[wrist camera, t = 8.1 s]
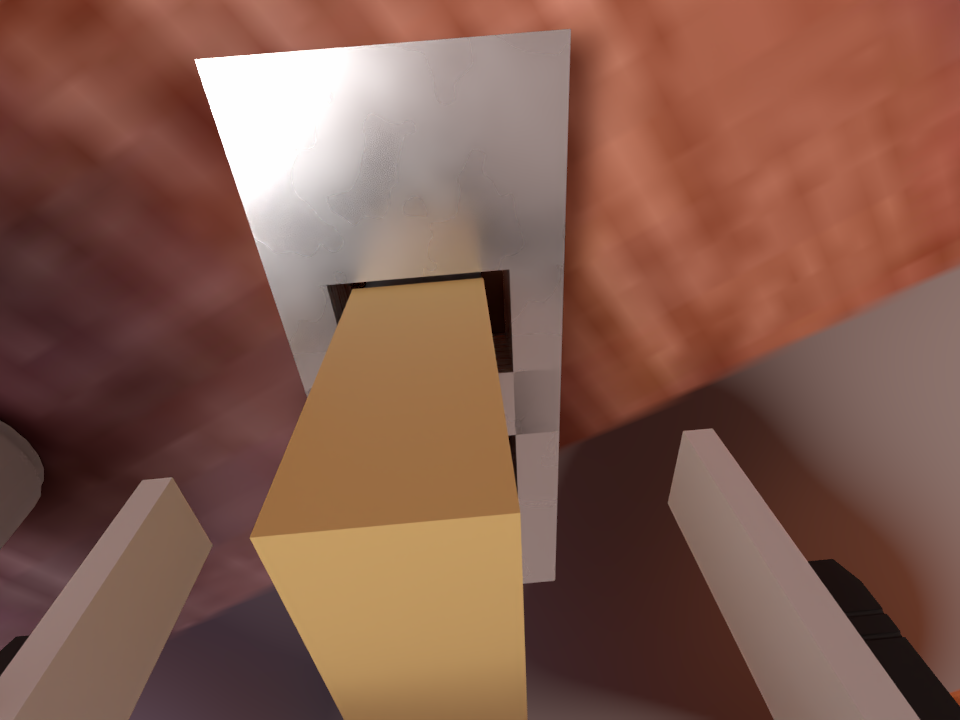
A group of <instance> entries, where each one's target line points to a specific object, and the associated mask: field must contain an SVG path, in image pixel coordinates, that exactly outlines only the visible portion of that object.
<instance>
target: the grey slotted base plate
mask: <svg viewBox="0 0 960 720" xmlns="http://www.w3.org/2000/svg"><path fill="white" fill-rule="evenodd" d="M570 42H571V29H564V30H552V31H540V32H527V33H515V34H503V35H490V36H478V37H466V38H454V39H441V40H429V41H417V42H404V43H392V44H380V45H367V46H355V47H343V48H331V49H318V50H306V51H294V52H281V53H269V54H257V55H244V56H232V57H220V58H208V59H195V62H196V65H197V68H198V71H199V74H200V77H201V80H202V83H203V86H204V89H205V92H206V95H207V98H208V101H209V104H210V107H211V110H212V113H213V116H214V119H215V122H216V125H217V128H218V131H219V134H220V137H221V140H222V143H223V146H224V149H225V152H226V155H227V158H228V161H229V164H230V167H231V170H232V173H233V176H234V179H235V182H236V185H237V188H238V191H239V194H240V197H241V200H242V203H243V206H244V209H245V212H246V215H247V218H248V221H249V224H250V227H251V230H252V233H253V236H254V239H255V242H256V245H257V248H258V251H259V254H260V257H261V260H262V263H263V266H264V269H265V272H266V275H267V278H268V281H269V284H270V287H271V290H272V293H273V296H274V299H275V302H276V305H277V308H278V311H279V314H280V317H281V320H282V323H283V326H284V329H285V332H286V335H287V338H288V341H289V344H290V347H291V350H292V353H293V356H294V359H295V362H296V365H297V368H298V371H299V374H300V377H301V380H302V383H303V386H304V389H305V392H306V395H307V398H308V395H309V393H310V390H311V388H312V386H313V383H314V381H315V378H316V376H317V374H318V371H319V369H320V366H321V364H322V361H323V359H324V357H325V354H326V352H327V349H328V347H329V345H330V342H331V340H332V337H333V335H334V332H335V330H336V328H337V325H338V323H339V320H340V318H341V316H342V313H343V311H344V308H345V306H346V303H347V301H348V299H349V296H350V294H351V291H352V287H351V283H357V282H369V281H380V280H392V279H403V278H415V277H426V276H438V275H449V274H461V273H473V272H484V271H496V270H502V273H503V295H504V317H505V333H498V334H492V337H493V343H494V349H495V355H496V362H497V368H498V374H499V381H500V387H501V393H502V400H503V406H504V412H505V419H506V425H507V431H508V436H509V435H510V448H511V457H512V463H513V469H514V476H515V482H516V488H517V494H518V501H519V507H520V515H521V545H522V574H523V584H524V583H535V582H546V581H555V563H556V562H555V561H556V528H557V495H558V494H557V493H558V460H559V425H560V391H561V356H562V321H563V286H564V251H565V216H566V181H567V146H568V112H569V77H570Z"/></svg>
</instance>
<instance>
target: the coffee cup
mask: <svg viewBox="0 0 960 720" xmlns="http://www.w3.org/2000/svg"><path fill="white" fill-rule="evenodd" d="M43 481H44V468H43V465H42V463H41V460H40V458H39V455H38V454H37V453H36V451H35V450H34V449H33V447H32V446H31V445H30V444H29V442H28V441H27V440H26V439H25V438H23V437H22V436H21V435H20V434H19V433H17V432H16V431H15V430H14V429H13V428H12V427H10V426H9V425H7V424H5V423H4V422H2V421H0V549H1V548H2V547H3V545H4V544H5V543H6V542H7V540H8V539H9V538H10V537H11V535H12V534H13V533H14V532H15V531H16V529H17V528H18V527H19V526H20V524H21V523H22V522H23V521H24V519H25V518H26V517H27V516H28V514H29V513H30V512H31V511H32V509H33V508H34V507H35V505H36V503H37V502H38V500H39V498H40V496H41V485H42V483H43Z"/></svg>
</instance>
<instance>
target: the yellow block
mask: <svg viewBox="0 0 960 720" xmlns="http://www.w3.org/2000/svg"><path fill="white" fill-rule="evenodd" d="M250 540H251V541H252V543H253V545H254V547H255V549H256V551H257V553H258V555H259V557H260V559H261V561H262V563H263V565H264V567H265V568H266V570H267V572H268V574H269V576H270V578H271V580H272V582H273V584H274V586H275V588H276V590H277V592H278V593H279V595H280V597H281V599H282V601H283V603H284V605H285V607H286V609H287V611H288V613H289V615H290V617H291V618H292V620H293V622H294V624H295V626H296V628H297V630H298V632H299V634H300V636H301V638H302V640H303V641H304V643H305V645H306V647H307V649H308V651H309V653H310V655H311V657H312V659H313V661H314V663H315V665H316V667H317V668H318V670H319V672H320V674H321V676H322V678H323V680H324V682H325V684H326V686H327V688H328V690H329V692H330V694H331V696H332V697H333V699H334V701H335V703H336V705H337V707H338V708H339V711H340V713H341V715H342V717H343V719H344V720H527V694H526V693H527V692H526V664H525V634H524V604H523V574H522V545H521V515H520V507H519V501H518V494H517V488H516V482H515V476H514V469H513V463H512V457H511V450H510V444H509V438H508V431H507V425H506V419H505V412H504V406H503V400H502V393H501V387H500V381H499V374H498V368H497V362H496V355H495V349H494V343H493V337H492V330H491V324H490V318H489V311H488V305H487V299H486V292H485V286H484V280H483V278H482V277H481V272H473V273H461V274H449V275H438V276H426V277H415V278H403V279H392V280H380V281H369V282H367V283H366V285H365V288H359V289H352V291H351V294H350V296H349V299H348V301H347V303H346V306H345V308H344V311H343V313H342V316H341V318H340V320H339V323H338V325H337V328H336V330H335V332H334V335H333V337H332V340H331V342H330V345H329V347H328V349H327V352H326V354H325V357H324V359H323V361H322V364H321V366H320V369H319V371H318V374H317V376H316V378H315V381H314V383H313V386H312V388H311V390H310V393H309V395H308V398H307V400H306V403H305V405H304V407H303V410H302V412H301V415H300V417H299V419H298V422H297V424H296V427H295V429H294V432H293V434H292V436H291V439H290V441H289V444H288V446H287V448H286V451H285V453H284V456H283V458H282V461H281V463H280V465H279V468H278V470H277V473H276V475H275V477H274V480H273V482H272V485H271V487H270V490H269V492H268V494H267V497H266V499H265V502H264V504H263V506H262V509H261V511H260V514H259V516H258V519H257V521H256V523H255V526H254V528H253V531H252V533H251V535H250Z"/></svg>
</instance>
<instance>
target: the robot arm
mask: <svg viewBox="0 0 960 720" xmlns="http://www.w3.org/2000/svg"><path fill="white" fill-rule="evenodd" d="M668 505H669V507H670V509H671V511H672V513H673V515H674V517H675V519H676V521H677V523H678V525H679V527H680V529H681V531H682V534H683V535H684V537H685V540H686V542H687V544H688V546H689V548H690V550H691V552H692V554H693V556H694V558H695V560H696V562H697V564H698V566H699V568H700V570H701V572H702V574H703V576H704V578H705V580H706V582H707V584H708V586H709V588H710V590H711V592H712V594H713V597H714V598H715V601H716V603H717V605H718V607H719V609H720V611H721V613H722V615H723V617H724V619H725V621H726V623H727V625H728V627H729V629H730V631H731V633H732V635H733V637H734V639H735V641H736V643H737V645H738V647H739V649H740V651H741V653H742V655H743V657H744V659H745V662H746V663H747V666H748V668H749V670H750V671H751V674H752V676H753V678H754V680H755V682H756V684H757V686H758V688H759V690H760V692H761V694H762V696H763V698H764V700H765V702H766V704H767V706H768V708H769V710H770V712H771V714H772V716H773V718H774V720H960V706H959V705H958V704H957V702H956V701H955V700H954V699H953V697H952V696H951V695H950V694H949V692H948V691H947V690H946V688H945V687H944V686H943V685H942V683H941V682H940V681H939V680H938V678H937V677H936V676H935V675H934V674H933V672H932V671H931V669H930V668H929V667H928V666H927V665H926V663H925V662H924V661H923V659H922V658H921V657H920V655H919V654H918V653H917V652H916V651H915V649H914V648H913V647H912V645H911V644H910V643H909V642H908V640H907V639H906V638H905V637H902V636H901V634H900V630H899V629H898V628H897V626H896V625H895V624H894V623H893V621H892V620H891V619H890V617H889V616H888V615H887V614H884V613H883V611H882V607H881V606H880V605H879V604H878V602H877V601H876V600H875V598H874V597H873V596H872V595H871V593H870V592H869V591H868V590H867V588H866V587H865V586H864V585H863V583H862V582H861V581H860V580H859V579H857V578H856V577H855V576H854V575H852V574H851V573H850V572H849V571H847V570H846V569H845V568H843V567H842V566H841V565H840V564H839V563H837V562H836V561H835V560H833V559H828V560H818V561H807V560H806V559H805V557H804V556H803V555H802V553H801V552H800V550H799V549H798V548H797V546H796V545H795V543H794V542H793V541H792V539H791V538H790V536H789V535H788V534H787V532H786V531H785V529H784V528H783V527H782V525H781V524H780V522H779V521H778V519H777V518H776V517H775V515H774V514H773V513H772V511H771V510H770V508H769V507H768V505H767V504H766V503H765V501H764V500H763V498H762V497H761V496H760V494H759V493H758V491H757V490H756V489H755V487H754V486H753V484H752V483H751V482H750V480H749V479H748V477H747V476H746V475H745V473H744V472H743V470H742V469H741V468H740V466H739V465H738V463H737V462H736V461H735V459H734V458H733V456H732V455H731V454H730V452H729V451H728V449H727V448H726V447H725V445H724V444H723V442H722V441H721V440H720V438H719V437H718V435H717V434H716V432H715V431H714V430H713V429H700V430H689V431H683V434H682V439H681V443H680V448H679V453H678V457H677V462H676V467H675V472H674V476H673V481H672V486H671V490H670V495H669V500H668ZM212 546H213V545H212V543H211V541H210V540H209V538H208V536H207V535H206V533H205V531H204V530H203V528H202V526H201V525H200V523H199V521H198V519H197V518H196V516H195V514H194V513H193V511H192V509H191V508H190V506H189V504H188V503H187V501H186V499H185V498H184V496H183V494H182V492H181V491H180V489H179V487H178V486H177V484H176V482H175V481H174V479H173V477H170V478H159V479H148V480H142V481H141V483H140V484H139V485H138V487H137V488H136V489H135V491H134V492H133V494H132V495H131V496H130V498H129V499H128V501H127V502H126V503H125V505H124V506H123V507H122V509H121V510H120V512H119V513H118V514H117V516H116V517H115V518H114V520H113V521H112V523H111V524H110V525H109V527H108V528H107V530H106V531H105V532H104V534H103V535H102V536H101V538H100V539H99V541H98V542H97V543H96V545H95V546H94V548H93V549H92V550H91V552H90V553H89V554H88V556H87V557H86V559H85V560H84V561H83V563H82V564H81V565H80V567H79V568H78V570H77V571H76V572H75V574H74V575H73V577H72V578H71V579H70V581H69V582H68V583H67V585H66V586H65V588H64V589H63V590H62V592H61V593H60V594H59V596H58V597H57V599H56V600H55V601H54V603H53V604H52V606H51V607H50V608H49V610H48V611H47V612H46V614H45V615H44V617H43V618H42V619H41V621H40V622H39V624H38V625H37V626H36V628H35V629H34V630H33V632H32V633H31V635H30V636H19V637H15V638H14V639H13V640H12V641H11V642H10V643H9V644H8V645H6V646H5V647H4V648H3V649H2V650H1V651H0V720H129V717H130V716H131V714H132V712H133V709H134V707H135V705H136V703H137V701H138V699H139V697H140V695H141V693H142V691H143V689H144V687H145V685H146V683H147V681H148V679H149V676H150V674H151V672H152V670H153V668H154V666H155V664H156V662H157V660H158V658H159V656H160V653H161V652H162V650H163V647H164V645H165V643H166V641H167V639H168V637H169V635H170V633H171V631H172V629H173V627H174V625H175V623H176V621H177V618H178V616H179V614H180V612H181V610H182V608H183V606H184V604H185V602H186V600H187V598H188V596H189V594H190V591H191V589H192V587H193V585H194V583H195V581H196V579H197V577H198V575H199V573H200V571H201V569H202V567H203V565H204V562H205V560H206V558H207V556H208V554H209V552H210V550H211V548H212Z"/></svg>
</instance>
